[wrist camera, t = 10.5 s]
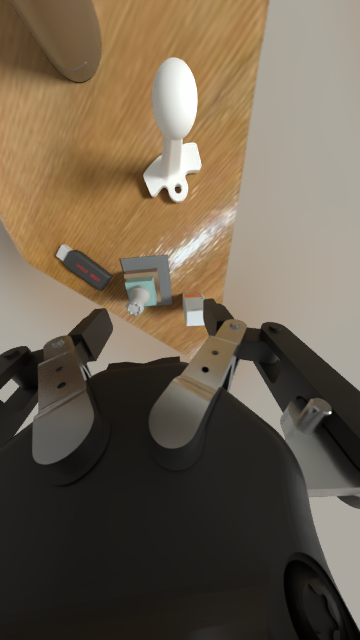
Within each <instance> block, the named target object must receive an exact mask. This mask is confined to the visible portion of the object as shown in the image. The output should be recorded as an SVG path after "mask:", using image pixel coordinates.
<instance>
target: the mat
mask: <svg viewBox="0 0 360 640" xmlns="http://www.w3.org/2000/svg"><path fill="white" fill-rule="evenodd" d="M121 263H122V267H123V270H124V274H125V273H126V272H127V271H131V270H143V269H154V268H158V275H159V282H160V289H161V296H162V297H161V302H156V305H151V306H162V305H172V304H173V303H172V294H171V284H170V275H169V265H168V255H160V256H148V257H136V258H124V259H121ZM151 306H144V307H151Z"/></svg>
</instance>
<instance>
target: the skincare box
mask: <svg viewBox="0 0 360 640" xmlns="http://www.w3.org/2000/svg"><path fill="white" fill-rule="evenodd" d="M204 299H205V298H204V296H203V294H202V293H183V302H182V304H183V311H184V316H185V321H186V326H200V325H205V324H204V321H203V300H204Z"/></svg>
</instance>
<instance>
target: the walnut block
mask: <svg viewBox="0 0 360 640" xmlns="http://www.w3.org/2000/svg"><path fill="white" fill-rule="evenodd" d="M150 276H153V278H154V284H155V290H156V296H157V301H156V302H161V297H162V296H161V289H160V282H159V275H158V268H154V269H143V270H131V271H127V272H126V273H125V274H124V278H125V282H126V281H127V280H128V279H129V278H138V277H150Z"/></svg>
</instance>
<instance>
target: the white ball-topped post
mask: <svg viewBox="0 0 360 640" xmlns="http://www.w3.org/2000/svg"><path fill="white" fill-rule="evenodd" d="M152 108H153V114H154V118H155V121H156V123H157V126H158V128H159V129H160V131H161V132H162V134H163V143H162V155H160V156H159V157H158V158H157V159H156V160H155V161H154V162H153V163H152V164H151V165H150V166H149V167H148V168H147V170H146V171H145V173H144V175H143V177H144V180H145V182H146V184H147V187H148V189H149V192H150V194H151V196H152V197H153V198H155V197H156V196H157V195H158V193H159V192H160V191H161V189H162V188H166V189H167V190H168V192H169V196H170V198H171V199H172V201H174V202H176V203H180V202H182V201H183V200H184V199H185V197H186V195H187V193H188V184H187V181H186V179H185V176H186V174H190V173H198V172H199V170H200V168H201V160H200V156H199V152H198V149H197V145H196V143H186V144H182V142H183V138H184V137H185V136H186V135H187V134H188V133H189V131H190V130H191V128H192V126H193V123H194V121H195V117H196V112H197V89H196V84H195V80H194V77H193V74H192V72H191V70H190V68H189V67H188V66H187V64H186V63H185V62H184V61H182V60H181V59H179V58H169V59H167V60H165V61H164V62H163V63H162V64H161V66H160V67H159V69H158V71H157V73H156V75H155V78H154V82H153V87H152ZM175 187H180V189H181V193H179V194H178V193H176V192H175Z"/></svg>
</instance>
